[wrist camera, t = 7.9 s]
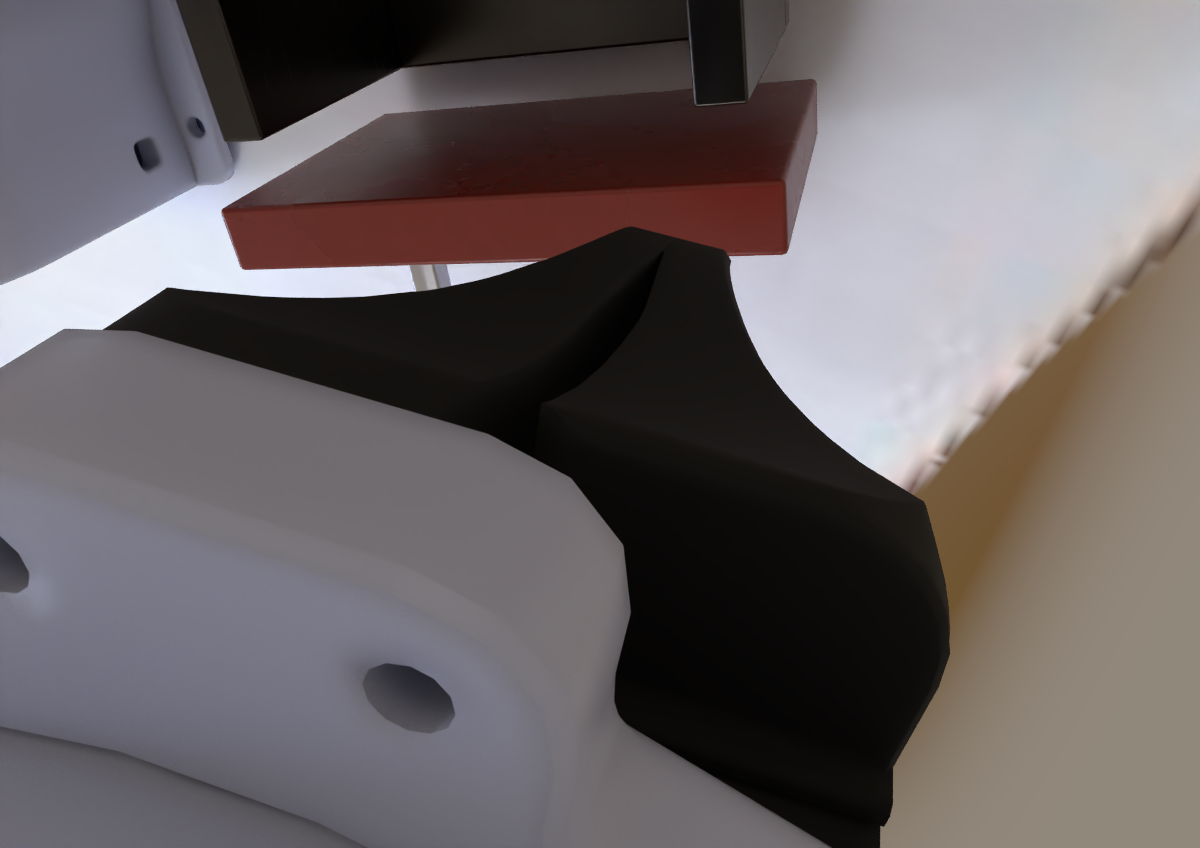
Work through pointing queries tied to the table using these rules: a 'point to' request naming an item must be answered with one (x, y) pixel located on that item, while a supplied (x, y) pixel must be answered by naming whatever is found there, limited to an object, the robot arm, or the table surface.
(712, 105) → the drawer
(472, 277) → the table surface
